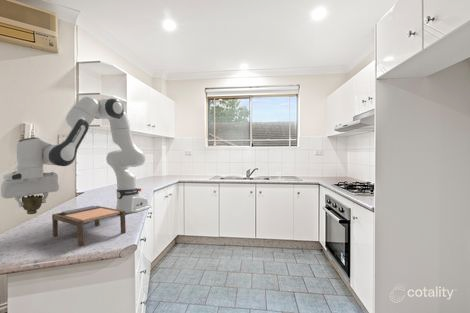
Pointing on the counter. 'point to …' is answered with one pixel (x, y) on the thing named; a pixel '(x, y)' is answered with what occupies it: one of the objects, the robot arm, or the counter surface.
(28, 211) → the bronze rounded piece
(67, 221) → the frame
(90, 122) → the robot arm
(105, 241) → the counter surface
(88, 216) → the trapdoor
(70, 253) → the counter surface
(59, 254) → the counter surface
